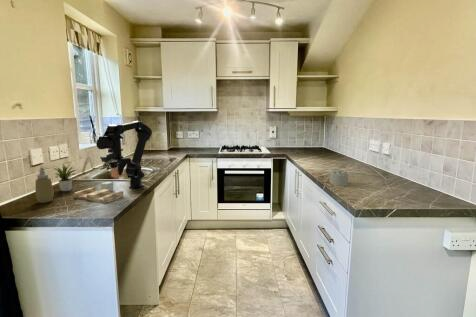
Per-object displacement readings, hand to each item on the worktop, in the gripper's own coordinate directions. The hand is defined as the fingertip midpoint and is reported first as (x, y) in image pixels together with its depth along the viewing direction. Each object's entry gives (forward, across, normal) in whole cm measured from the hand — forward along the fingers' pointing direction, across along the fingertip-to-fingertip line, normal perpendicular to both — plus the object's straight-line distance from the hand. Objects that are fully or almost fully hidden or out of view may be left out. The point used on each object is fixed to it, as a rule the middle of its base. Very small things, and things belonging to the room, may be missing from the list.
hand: (117, 174), depth 157 cm
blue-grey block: (+11, -11, 0) cm, 15 cm away
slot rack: (+11, -3, -10) cm, 15 cm away
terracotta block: (+1, 0, 0) cm, 1 cm away
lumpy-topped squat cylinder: (+11, +102, +89) cm, 136 cm away
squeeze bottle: (+12, -20, -29) cm, 37 cm away
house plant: (+11, -33, -13) cm, 37 cm away
